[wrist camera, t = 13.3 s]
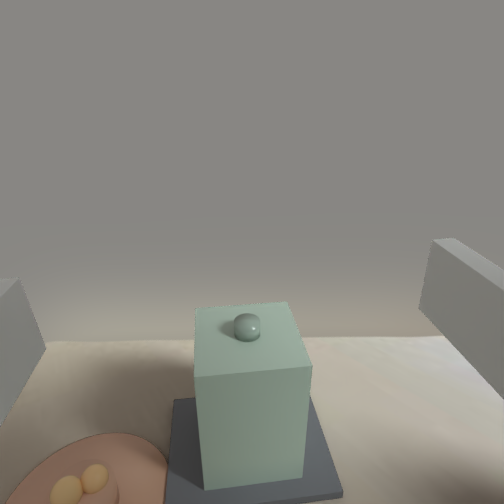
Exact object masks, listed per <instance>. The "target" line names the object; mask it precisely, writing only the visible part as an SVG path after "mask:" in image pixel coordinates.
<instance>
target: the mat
mask: <svg viewBox="0 0 504 504" xmlns="http://www.w3.org/2000/svg"><path fill="white" fill-rule="evenodd" d="M342 496H343V489H342V487H341V484H340V481H339V478H338V475H337V472H336V469H335V466H334V463H333V460H332V458H331V455H330V452H329V449H328V446H327V443H326V440H325V437H324V434H323V432H322V429H321V426H320V423H319V420H318V417H317V414H316V411H315V408H314V406H313V403H312V400H311V397H310V399H309V410H308V421H307V431H306V442H305V453H304V464H303V475H302V478H297V479H289V480H282V481H274V482H267V483H259V484H252V485H244V486H237V487H229V488H222V489H214V490H207V491H204V480H203V470H202V459H201V449H200V438H199V427H198V417H197V406H196V398H187V399H177V400H174V407H173V418H172V429H171V441H170V452H169V463H168V475H167V486H166V498H165V504H300V503H307V502H315V501H322V500H329V499H336V498H342Z"/></svg>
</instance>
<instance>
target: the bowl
mask: <svg viewBox="0 0 504 504" xmlns="http://www.w3.org/2000/svg"><path fill="white" fill-rule="evenodd" d="M167 475H168V464H167V462H166V460H165V458H164V457H163V455H162V454H161V452H160V451H159V450H158V449H157V448H156V447H155V446H154V445H153V444H151V443H150V442H149V441H147V440H145V439H143V438H141V437H138V436H135V435H131V434H126V433H106V434H99V435H95V436H91V437H87V438H85V439H82V440H79V441H77V442H74V443H72V444H70V445H68V446H66V447H64V448H62V449H61V450H59V451H57V452H56V453H54V454H53V455H51V456H50V457H48V458H47V459H46V460H44V461H43V462H42V463H41V464H39V465H38V466H37V467H36V468H35V469H34V470H33V471H32V472H30V473H29V474H28V475H27V476H26V477H25V479H24V480H23V481H22V482H21V483H20V484H19V485H18V486H17V488H16V489H15V490H14V492H13V493H12V494H11V495H10V497H9V498H8V500H7V502H6V503H5V504H165V498H166V486H167Z"/></svg>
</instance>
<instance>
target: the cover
mask: <svg viewBox="0 0 504 504" xmlns="http://www.w3.org/2000/svg"><path fill="white" fill-rule="evenodd" d="M311 377H312V363H311V361H310V358H309V356H308V353H307V351H306V348H305V346H304V343H303V341H302V338H301V336H300V333H299V331H298V328H297V326H296V323H295V320H294V318H293V315H292V313H291V310H290V308H289V305H288V303H287V302H276V303H261V304H248V305H234V306H221V307H207V308H196V309H195V345H194V385H195V396H196V406H197V417H198V427H199V438H200V449H201V459H202V470H203V480H204V491H207V490H214V489H222V488H229V487H237V486H244V485H252V484H259V483H267V482H274V481H282V480H289V479H297V478H302V475H303V464H304V453H305V442H306V431H307V421H308V410H309V399H310V388H311Z"/></svg>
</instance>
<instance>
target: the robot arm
mask: <svg viewBox="0 0 504 504" xmlns="http://www.w3.org/2000/svg"><path fill="white" fill-rule="evenodd" d="M419 309H420V310H421V311H422V312H423V313H424V315H426V317H427V318H428V319H429V320H430V321H431V322H432V323H433V324H434V325H435V326H436V327H437V328H438V329H439V331H440V332H441V333H442V334H443V335H444V336H445V337H446V338H447V339H448V340H449V341H450V342H451V343H452V345H453V346H454V347H455V348H456V349H457V350H458V351H459V352H460V353H461V354H462V355H463V356H464V357H465V358H466V360H467V361H468V362H469V363H470V364H471V365H472V366H473V367H474V368H475V369H476V370H477V371H478V372H479V373H480V375H481V376H482V377H483V378H484V379H485V380H486V381H487V382H488V383H489V384H490V385H491V386H492V387H493V388H494V390H495V391H496V392H497V393H498V394H499V395H500V396H501V397H502V398H503V399H504V270H503V269H502V268H500V267H499V266H497V265H495V264H494V263H492V262H491V261H489V260H487V259H486V258H484V257H483V256H481V255H480V254H478V253H477V252H475V251H473V250H472V249H470V248H469V247H467V246H466V245H464V244H462V243H461V242H459V241H458V240H456V239H455V238H447V239H436V240H432V243H431V248H430V253H429V258H428V263H427V268H426V274H425V278H424V284H423V289H422V294H421V299H420V304H419ZM45 350H46V347H45V344H44V341H43V339H42V336H41V333H40V331H39V328H38V326H37V323H36V320H35V317H34V315H33V312H32V310H31V308H30V304H29V301H28V299H27V296H26V293H25V291H24V288H23V286H22V283H21V280H20V278H19V277H18V278H7V279H0V427H1V425H2V423H3V422H4V420H5V418H6V416H7V415H8V413H9V411H10V410H11V408H12V406H13V405H14V403H15V401H16V399H17V398H18V396H19V394H20V393H21V391H22V389H23V387H24V386H25V384H26V382H27V381H28V379H29V377H30V376H31V374H32V372H33V370H34V369H35V367H36V365H37V364H38V362H39V360H40V358H41V357H42V355H43V353H44V352H45Z"/></svg>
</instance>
